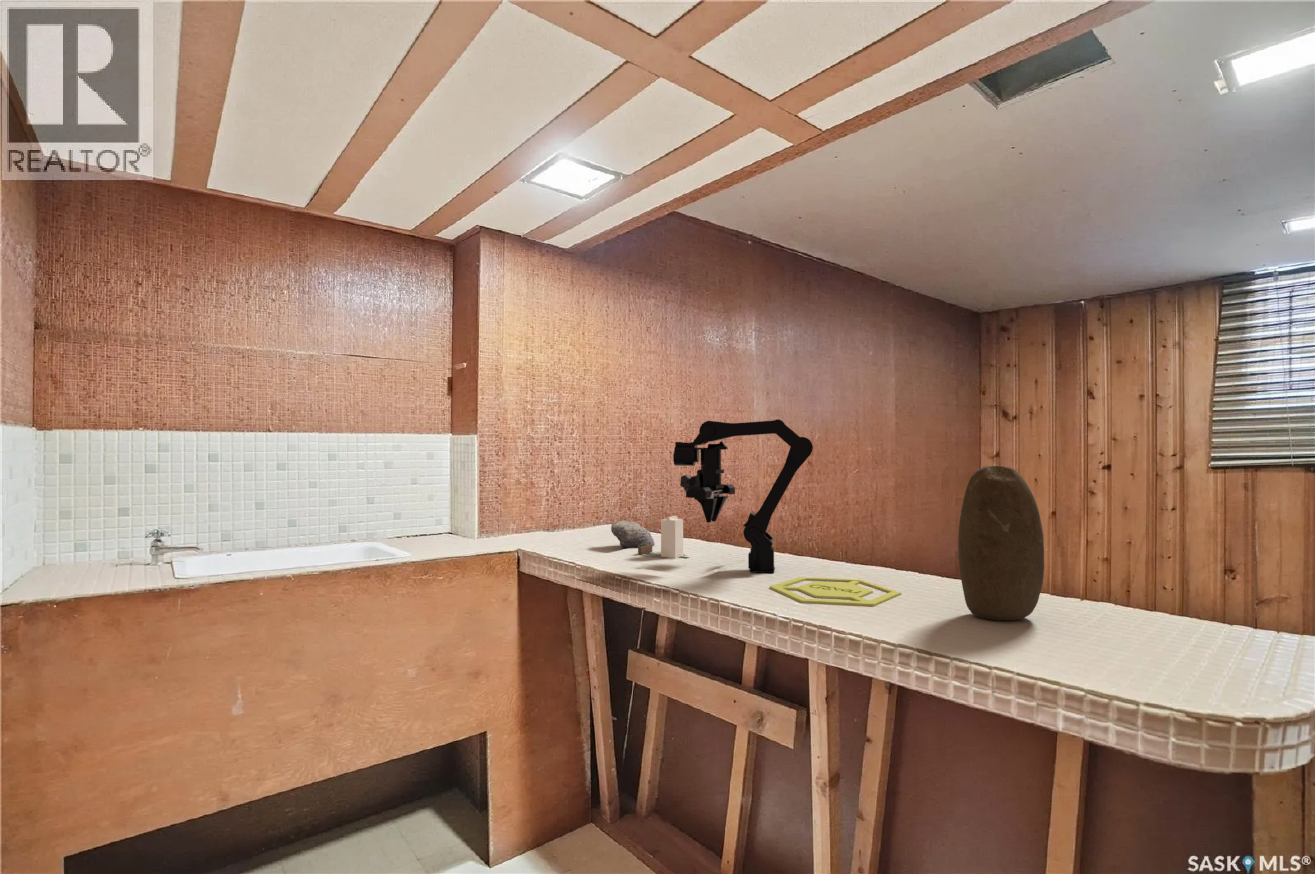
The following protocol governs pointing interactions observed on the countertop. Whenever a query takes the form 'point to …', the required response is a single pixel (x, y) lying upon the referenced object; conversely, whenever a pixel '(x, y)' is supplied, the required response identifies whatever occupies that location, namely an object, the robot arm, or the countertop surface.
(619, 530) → the rock
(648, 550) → the switch board
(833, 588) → the logo
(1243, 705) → the countertop surface
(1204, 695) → the countertop surface
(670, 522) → the white rectangular block
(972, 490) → the stone
